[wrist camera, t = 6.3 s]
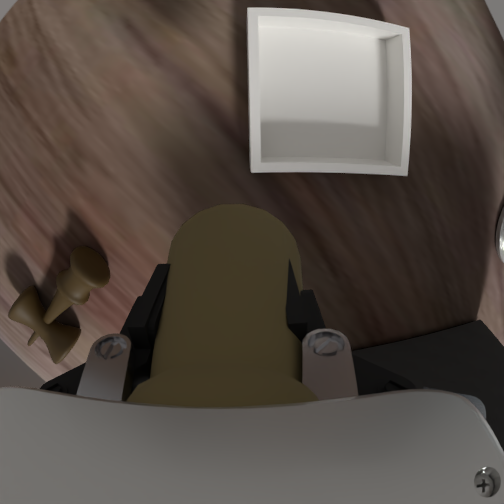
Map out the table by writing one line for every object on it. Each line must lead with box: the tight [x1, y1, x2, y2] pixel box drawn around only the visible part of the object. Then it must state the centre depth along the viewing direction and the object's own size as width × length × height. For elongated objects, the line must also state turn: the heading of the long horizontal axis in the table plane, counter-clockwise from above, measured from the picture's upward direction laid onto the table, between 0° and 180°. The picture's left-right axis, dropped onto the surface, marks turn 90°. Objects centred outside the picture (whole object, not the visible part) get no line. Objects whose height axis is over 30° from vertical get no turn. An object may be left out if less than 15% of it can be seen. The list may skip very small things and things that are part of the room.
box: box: [246, 8, 412, 176], centre depth 23 cm, size 14×14×4 cm
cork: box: [126, 204, 319, 407], centre depth 9 cm, size 6×6×11 cm
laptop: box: [351, 320, 504, 451], centre depth 32 cm, size 37×27×27 cm
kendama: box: [8, 246, 110, 364], centre depth 31 cm, size 6×10×20 cm
